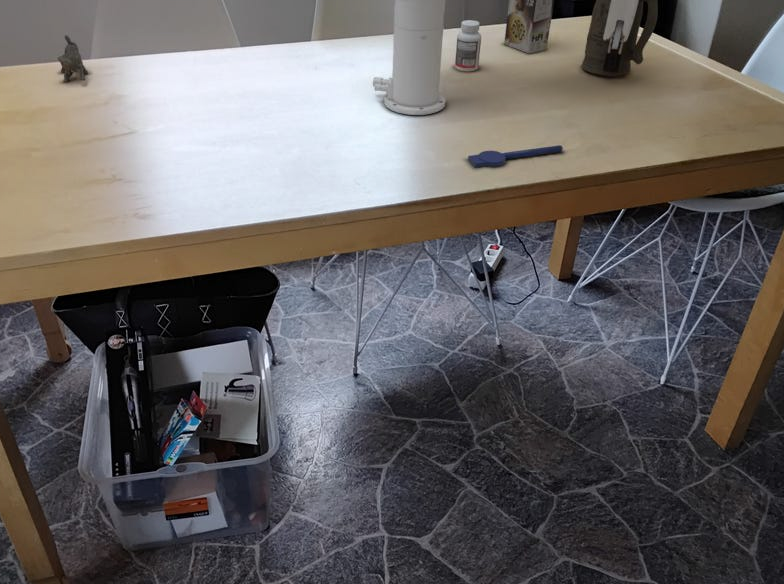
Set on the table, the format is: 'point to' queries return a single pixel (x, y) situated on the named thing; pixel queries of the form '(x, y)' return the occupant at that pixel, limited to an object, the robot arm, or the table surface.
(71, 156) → the table surface
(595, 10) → the beer stein
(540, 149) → the spoon
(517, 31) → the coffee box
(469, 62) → the pill bottle
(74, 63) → the dog figurine
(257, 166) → the table surface
